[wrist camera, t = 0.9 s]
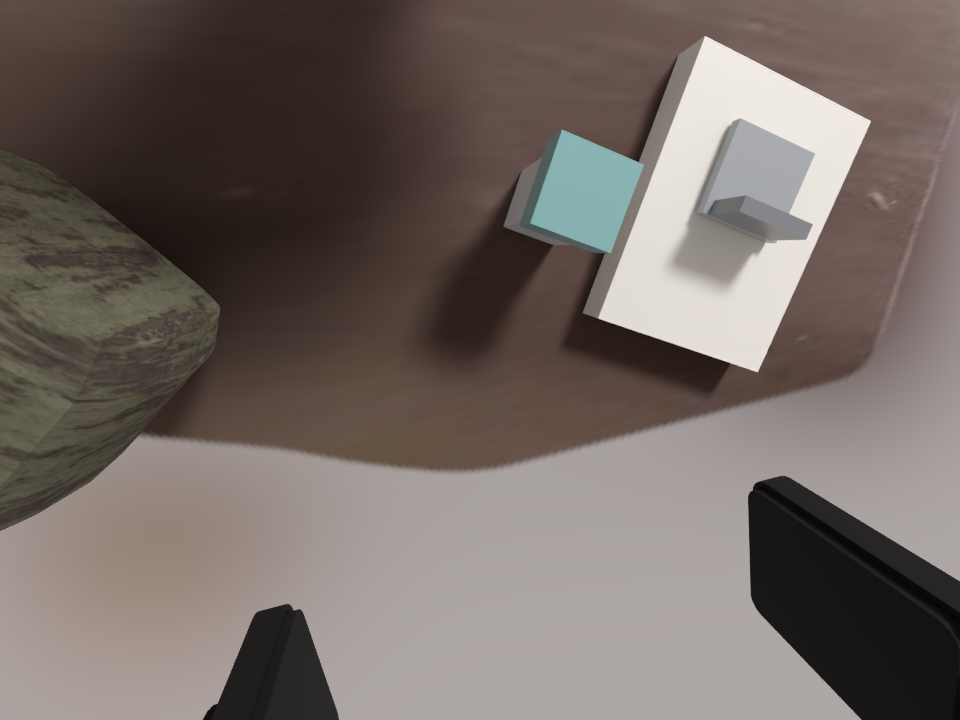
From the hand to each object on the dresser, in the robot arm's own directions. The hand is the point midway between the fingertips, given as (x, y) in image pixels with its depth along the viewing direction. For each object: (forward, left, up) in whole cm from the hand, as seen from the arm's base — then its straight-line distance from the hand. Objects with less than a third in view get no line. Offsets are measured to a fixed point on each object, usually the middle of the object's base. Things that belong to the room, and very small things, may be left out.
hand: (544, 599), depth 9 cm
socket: (-15, +17, -26) cm, 34 cm away
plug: (-11, +4, -26) cm, 29 cm away
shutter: (-17, +17, -23) cm, 33 cm away
